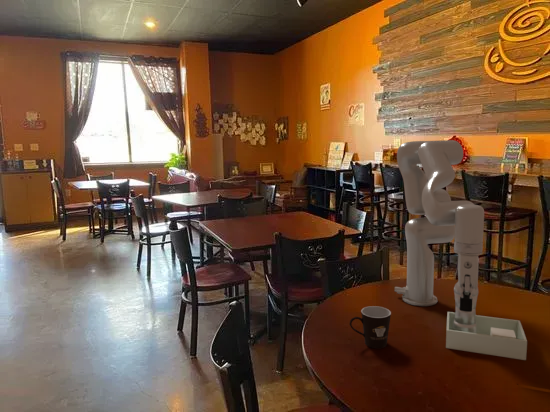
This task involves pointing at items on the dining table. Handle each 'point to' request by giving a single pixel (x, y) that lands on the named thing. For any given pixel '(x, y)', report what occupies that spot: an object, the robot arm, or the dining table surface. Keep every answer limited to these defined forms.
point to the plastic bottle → (465, 312)
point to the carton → (502, 333)
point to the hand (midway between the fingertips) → (465, 305)
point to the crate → (488, 338)
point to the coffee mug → (374, 326)
